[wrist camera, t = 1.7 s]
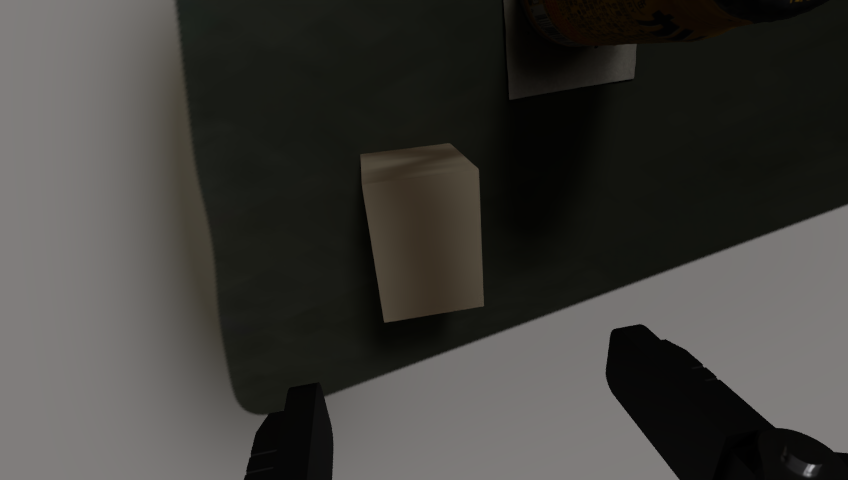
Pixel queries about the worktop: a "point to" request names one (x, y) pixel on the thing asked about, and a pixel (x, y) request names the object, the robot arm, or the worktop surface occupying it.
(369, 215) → the block
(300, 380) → the worktop surface
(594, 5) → the condiment
